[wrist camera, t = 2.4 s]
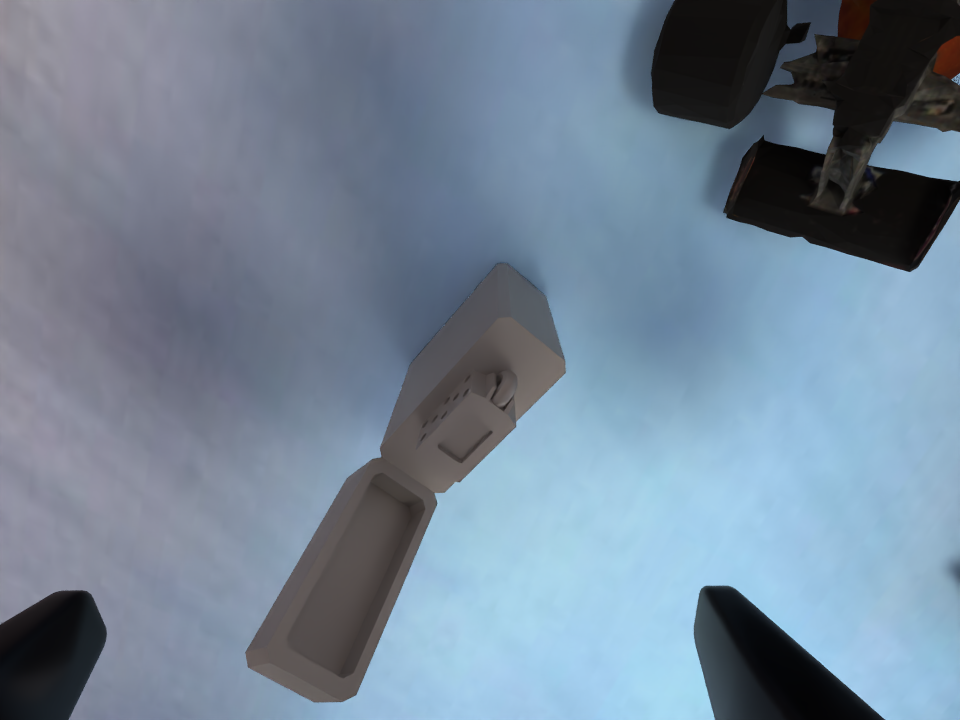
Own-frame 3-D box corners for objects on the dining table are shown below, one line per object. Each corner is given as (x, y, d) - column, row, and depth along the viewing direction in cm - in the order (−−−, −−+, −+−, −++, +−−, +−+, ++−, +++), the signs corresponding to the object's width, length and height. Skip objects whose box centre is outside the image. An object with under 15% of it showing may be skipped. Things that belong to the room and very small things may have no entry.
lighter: (501, 258, 14) (507, 408, 7) (550, 300, 14) (608, 485, 7) (347, 436, 16) (224, 694, 9) (393, 468, 17) (311, 740, 9)
